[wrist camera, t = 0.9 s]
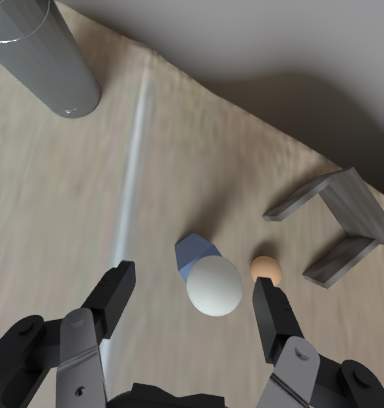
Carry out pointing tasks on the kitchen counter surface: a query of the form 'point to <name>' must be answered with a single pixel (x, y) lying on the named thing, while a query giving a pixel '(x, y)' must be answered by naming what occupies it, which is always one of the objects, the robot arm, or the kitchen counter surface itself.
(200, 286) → the figure
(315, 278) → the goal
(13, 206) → the kitchen counter surface
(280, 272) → the ball
